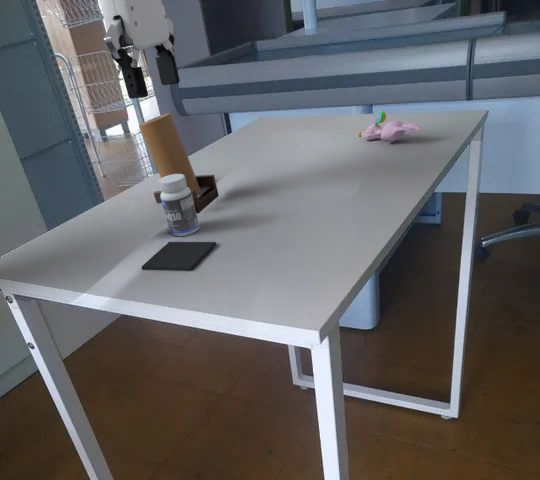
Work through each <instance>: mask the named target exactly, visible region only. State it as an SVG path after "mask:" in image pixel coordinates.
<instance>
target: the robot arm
mask: <svg viewBox="0 0 540 480" xmlns="http://www.w3.org/2000/svg"><path fill="white" fill-rule="evenodd" d="M100 5H101V11H102V15H103V19H104V24H105V28H106V33H105V34H104V36H103V42H104V44H105V45H106V47H107V48H108V50H109V52H110V56H111V58H112V59H113V60H114V61H115V62H116V66H117V69H119V70H120V71H121V74H122V78H123V81H124V85H125V88H126V93H127V96H128V98H129V99H130V100H131V99H133V100H134V99H142V98H147V97H148V96H149V91H148V88H147V84H146V80H145V76H144V72H143V68H142V66H139V59H140V51H143V50H146V49H150V48H152V50H153V51H154V52H155V54H156V56H157V57H155V63H156V66H157V69H158V70H157V71H158V75H159V80H160V84H161V85H162V86H167V85H168V86H169V85H177V84H179V83H180V82H181V80H180V76H179V72H178V67H177V61H176V57H175V54H176V49H175V47H174V45H175V36H174V22H173V20H172V19H170V18H169V17H168V16H167V14H166V10H165V5H164V1H163V0H100Z"/></svg>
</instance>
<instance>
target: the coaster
mask: <svg viewBox="0 0 540 480" xmlns="http://www.w3.org/2000/svg"><path fill="white" fill-rule="evenodd" d="M216 246H217V242H216V241H168V242H167V243H166V244H165V245H164V246H163V247H162V248H160V249H159V250H158V251H157V252H156V253H155V254H153V256H151V257H150V258H149V259H148V260H147V261H146V262H144V263H143V265H141V269H142V270H147V271H149V270H151V271H153V270H154V271H185V272H186V271H189V272H191V271H193V270H194V269H195V268H196V267H197V266H198V265H199V264H200V263H201V262H202V261H203V259H204V258H205V257H206V256H207V255H208V254H209V253H211V251H212V250H213V249H214V248H215V247H216Z"/></svg>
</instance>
